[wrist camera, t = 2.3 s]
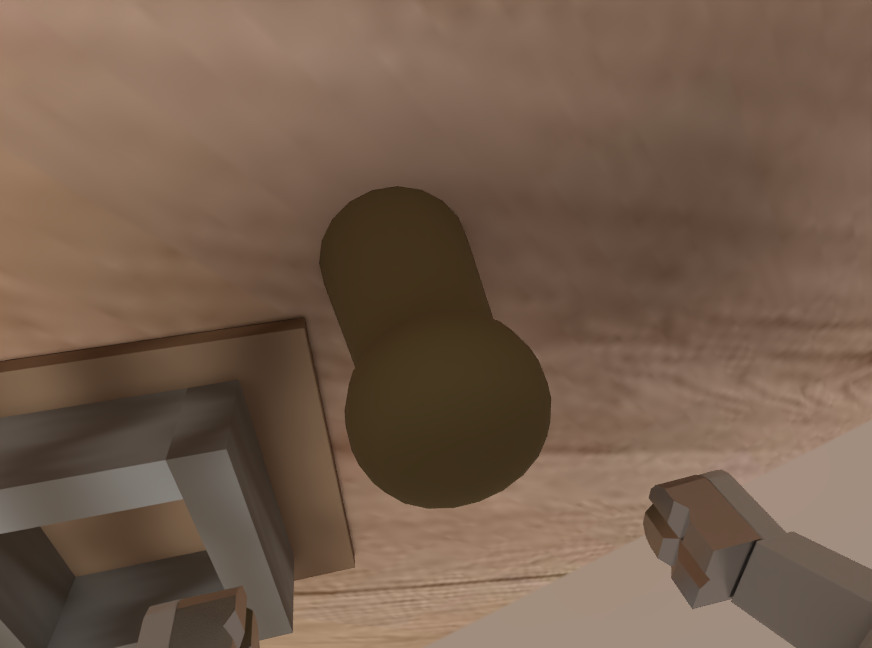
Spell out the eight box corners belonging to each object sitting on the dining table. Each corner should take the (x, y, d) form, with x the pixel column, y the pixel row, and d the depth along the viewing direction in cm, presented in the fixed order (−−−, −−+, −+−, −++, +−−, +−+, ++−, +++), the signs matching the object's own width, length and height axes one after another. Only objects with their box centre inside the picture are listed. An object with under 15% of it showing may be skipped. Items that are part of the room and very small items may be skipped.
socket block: (304, 317, 21) (303, 389, 17) (354, 554, 30) (361, 639, 26) (-206, 391, 19) (-344, 496, 15) (9, 629, 27) (-42, 736, 23)
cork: (481, 298, 23) (599, 497, 14) (349, 342, 23) (380, 574, 13) (449, 165, 20) (577, 309, 10) (294, 215, 19) (285, 409, 10)
